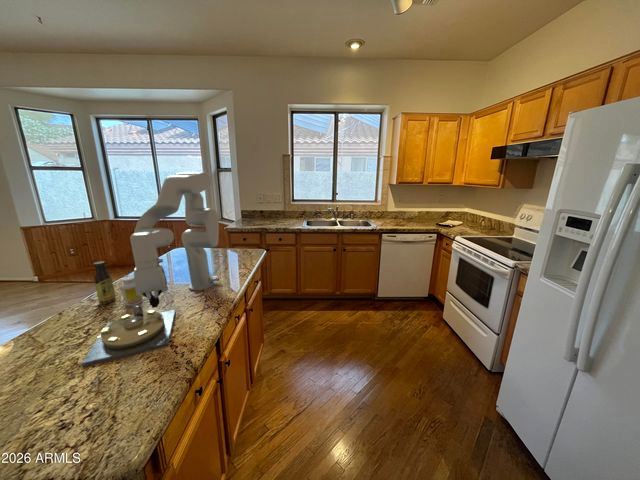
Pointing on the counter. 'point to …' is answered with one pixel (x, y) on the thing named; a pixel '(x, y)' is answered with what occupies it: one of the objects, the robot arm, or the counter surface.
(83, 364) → the cap plate
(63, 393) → the counter surface
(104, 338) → the notched gold disc
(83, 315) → the counter surface
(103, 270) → the sauce bottle
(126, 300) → the supplement bottle
